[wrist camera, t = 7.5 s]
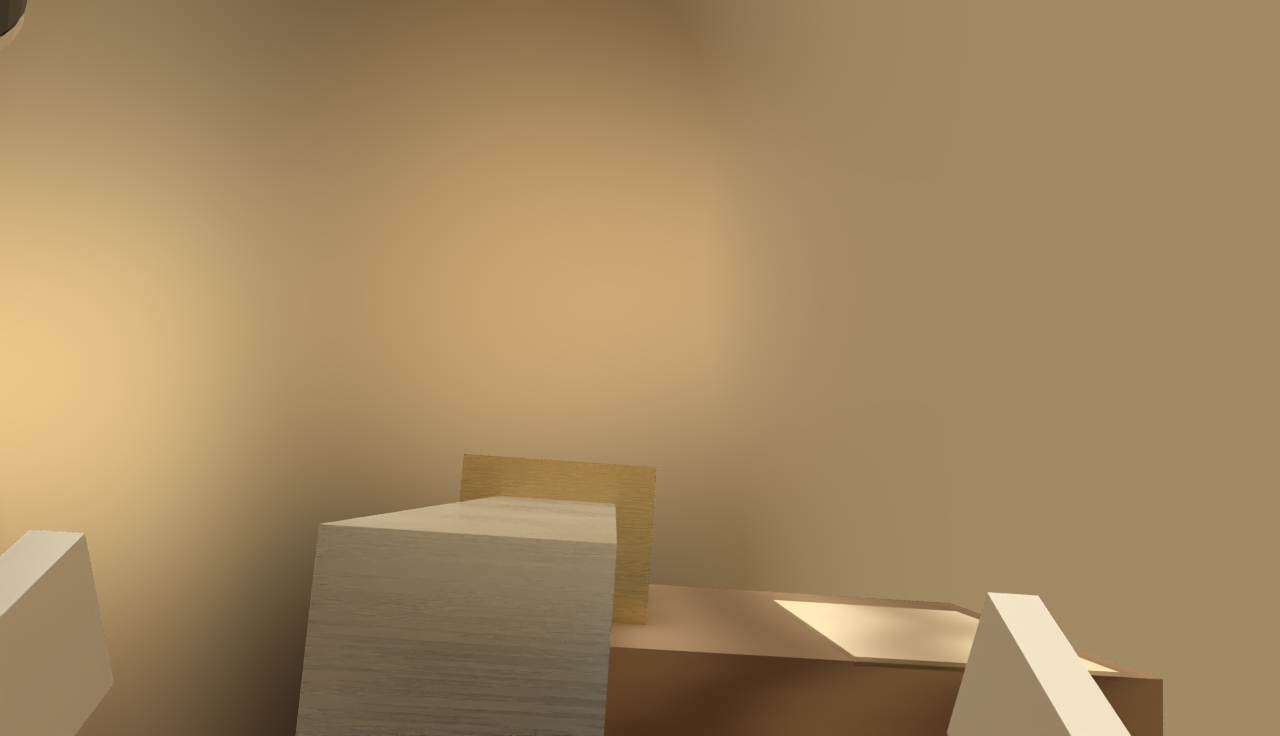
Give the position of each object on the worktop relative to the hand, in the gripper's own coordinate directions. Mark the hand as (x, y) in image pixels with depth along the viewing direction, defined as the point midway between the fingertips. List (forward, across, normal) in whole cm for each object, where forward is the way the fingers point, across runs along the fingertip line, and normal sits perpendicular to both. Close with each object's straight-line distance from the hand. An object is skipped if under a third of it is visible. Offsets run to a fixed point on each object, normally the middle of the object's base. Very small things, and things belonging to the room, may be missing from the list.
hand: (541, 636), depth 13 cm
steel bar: (+5, 0, -4) cm, 7 cm away
